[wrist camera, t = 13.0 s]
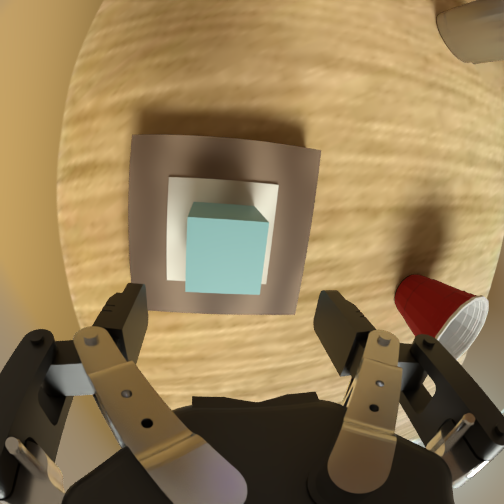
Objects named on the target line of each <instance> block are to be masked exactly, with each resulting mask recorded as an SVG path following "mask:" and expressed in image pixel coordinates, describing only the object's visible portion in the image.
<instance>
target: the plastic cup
mask: <svg viewBox="0 0 504 504" xmlns="http://www.w3.org/2000/svg"><path fill="white" fill-rule="evenodd" d="M395 304H396V307H397V309H398V310H399V312H400V313H401V315H402V316H403V318H404V319H405V321H406V323H407V325H408V326H409V328H410V329H411V331H412V332H413V334H414V335H415V337H416V336H417V335H419V334H426V335H429V336H432V337H434V338H435V339H437V340H438V341H439V342H440V343H441V344H442V345H443V346H444V347H445V348H446V349H447V351H448V352H449V353H450V354H451V355H452V356H453V357H454V358H455V359H456V360H457V359H458V358H459V357H460V356H461V355H462V354H463V353H464V352H465V351H466V350H467V349H468V348H469V347H470V345H471V344H472V343H473V341H474V340H475V339H476V337H477V336H478V334H479V332H480V330H481V329H482V327H483V325H484V323H485V320H486V317H487V313H488V300H487V299H486V298H485V297H484V296H482V295H480V296H476V295H473V294H471V293H470V294H469V293H467V292H465V291H461V290H459V289H456V288H454V287H451V286H449V285H447V284H444V283H442V282H439V281H437V280H434V279H430V278H427V277H425V276H422V275H418V274H417V275H411V276H409V277H407V278H406V279H405V280H404V281H403V282H401V284H400V285H399V287H398V289H397V291H396V294H395Z"/></svg>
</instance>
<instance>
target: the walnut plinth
mask: <svg viewBox="0 0 504 504" xmlns="http://www.w3.org/2000/svg"><path fill="white" fill-rule="evenodd" d="M320 156H321V150H316V149H310V148H305V147H299V146H292V145H286V144H279V143H271V142H263V141H255V140H246V139H236V138H224V137H210V136H192V135H132V143H131V156H130V172H129V206H128V222H129V256H130V273H131V283H139V284H145V286H146V296H147V308H148V310H150V311H164V312H181V313H202V314H234V315H295V312H296V307H297V302H298V297H299V292H300V286H301V281H302V276H303V270H304V265H305V259H306V253H307V247H308V241H309V235H310V229H311V222H312V216H313V209H314V202H315V195H316V188H317V181H318V173H319V165H320ZM193 202H205V203H221V204H235V205H247V206H255V207H256V208H257V210H258V211H259V212H260V213H261V214H262V215H263V216H264V217H265V218H266V219H267V221H268V222H269V228H268V236H267V244H266V252H265V259H264V267H263V275H262V282H261V289H260V295H250V294H221V293H199V292H185V280H186V241H187V218H188V215H189V212H190V210H191V207H192V205H193Z"/></svg>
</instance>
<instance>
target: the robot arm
mask: <svg viewBox="0 0 504 504" xmlns="http://www.w3.org/2000/svg"><path fill="white" fill-rule="evenodd" d="M437 25H438V29H439V31H440V34H441V36H442V38H443V40H444V41H445V43H446V45H447V46H448V48H449V49H450V50H451V51H452V53H453V54H454V55H455V56H456V57H457V58H458V59H460V60H461V61H463V62H466V63H469V62H472V63H473V64H479V63H485V62H493V61H502V60H504V0H476V1H473V2H470V3H467V4H464V5H461V6H458V7H455V8H453V9H450V10H447V11H445V12H442V13H440V14H439V15H438V16H437ZM147 326H148V308H147V296H146V286H145V284H139V283H128V284H127V286H126V288H125V289H124V291H123V293H116V294H114V295H113V296H111V297H110V298H109V299H108V301H107V302H106V304H105V306H104V307H103V309H102V311H101V312H100V314H99V315H98V317H97V319H96V320H95V322H94V324H93V325H92V326H91V327H86V328H83V329H81V330H79V331H78V332H77V333H76V334H75V335H74V338H73V340H69V341H55V340H54V336H53V334H52V333H51V332H50V331H48V330H45V329H38V330H34V331H31V332H29V333H28V334H26V335H25V337H24V338H23V339H22V341H21V342H20V343H19V345H18V346H17V348H16V349H15V351H14V352H13V354H12V356H11V357H10V359H9V360H8V362H7V363H6V365H5V366H4V368H3V370H2V372H1V373H0V504H454V499H453V491H452V488H458V487H461V486H462V485H464V484H465V483H466V482H467V481H469V480H470V479H471V478H472V477H473V476H475V475H476V474H477V473H478V472H479V471H480V470H482V469H483V468H484V467H485V466H486V465H487V464H488V463H490V462H491V461H492V460H493V459H494V458H495V457H496V456H497V455H498V454H499V453H500V452H501V451H502V450H503V449H504V416H503V415H502V414H501V412H500V411H499V410H498V409H497V407H496V406H495V405H494V404H493V402H492V401H491V400H490V399H489V397H488V396H487V395H486V394H485V393H484V391H483V390H482V389H481V388H480V387H479V385H478V384H477V383H476V382H475V381H474V380H473V378H472V377H471V376H470V375H469V374H468V373H467V372H466V371H465V369H464V368H463V367H462V366H461V365H460V364H459V363H458V361H457V360H456V359H455V358H454V357H453V356H452V355H451V354H450V353H449V352H448V351H447V349H446V348H445V347H444V346H443V345H442V344H441V343H440V342H439V341H438V340H437V339H435V338H434V337H432V336H429V335H426V334H419V335H417V336H416V337H415V339H414V341H413V343H412V344H404V343H400V342H399V339H398V338H397V337H396V336H395V335H394V334H392V333H390V332H388V331H384V330H376V329H375V327H374V326H373V325H372V324H371V323H370V322H369V321H368V319H367V318H366V317H364V315H363V314H362V313H361V312H360V310H359V309H358V308H357V307H356V306H355V305H354V304H352V303H351V302H349V301H347V300H345V298H344V297H343V296H342V295H341V294H340V293H339V292H338V291H337V290H323V291H321V293H320V295H319V299H318V304H317V308H316V312H315V316H314V330H315V332H316V334H317V336H318V338H319V339H320V341H321V343H322V345H323V347H324V348H325V350H326V352H327V354H328V356H329V357H330V359H331V361H332V363H333V364H334V366H335V368H336V370H337V372H338V374H339V375H340V377H341V376H348V375H351V376H352V378H351V380H350V382H349V385H348V388H347V390H346V393H345V396H344V398H343V401H342V403H341V405H340V404H337V403H334V402H330V401H325V400H319V399H318V396H317V394H316V392H307V393H298V394H287V395H284V396H280V397H277V398H273V399H270V400H266V401H262V402H250V401H243V400H237V399H232V398H226V397H197V396H192V405H190V406H185V407H181V408H178V409H175V410H171V409H170V408H169V407H168V406H167V404H166V403H165V402H164V401H163V400H162V398H161V397H160V396H159V395H158V393H157V392H156V391H155V390H154V388H153V387H152V386H151V385H150V383H149V382H148V381H147V379H146V378H145V377H144V375H143V374H142V373H141V371H140V370H139V369H138V367H137V366H136V363H137V359H138V356H139V353H140V349H141V346H142V343H143V340H144V336H145V333H146V330H147ZM427 375H429V376H430V377H431V379H432V380H433V381H434V383H435V385H436V392H435V394H434V396H433V397H431V395H430V394H429V392H428V391H427V390H426V388H425V387H424V385H423V382H424V380H425V378H426V377H427ZM91 394H92V395H93V397H94V399H95V401H96V403H97V405H98V407H99V409H100V410H101V413H102V414H103V416H104V418H105V420H106V422H107V424H108V425H109V427H110V429H111V431H112V432H113V434H114V436H115V438H116V440H117V441H118V443H119V445H120V446H121V448H122V449H120V450H119V451H118V452H116V453H115V454H114V455H113V456H111V457H110V458H109V459H107V460H106V461H105V462H103V463H102V464H101V465H99V466H98V467H97V468H95V469H94V470H93V471H91V472H90V473H88V474H87V475H85V476H84V477H83V478H81V479H80V480H78V481H77V482H75V483H74V484H73V485H72V486H71V487H70V488H69V489H68V490H67V492H66V493H65V490H64V487H63V476H62V472H61V470H60V469H59V468H58V466H57V465H56V464H55V459H56V455H57V451H58V447H59V443H60V439H61V435H62V432H63V429H64V425H65V422H66V418H67V415H68V412H69V409H70V406H71V403H72V400H73V397H74V395H75V396H76V395H91ZM399 402H400V404H401V406H402V407H403V409H404V411H405V412H406V414H407V416H408V418H409V419H410V421H411V423H412V424H413V426H414V428H415V430H416V431H417V433H418V435H419V437H420V438H421V440H422V442H423V443H424V445H425V447H426V448H424V447H421V446H419V445H417V444H415V443H413V442H411V441H409V440H407V439H405V438H403V437H401V436H399V435H397V434H395V433H394V431H395V425H396V419H397V413H398V406H399Z"/></svg>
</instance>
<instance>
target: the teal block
mask: <svg viewBox="0 0 504 504" xmlns="http://www.w3.org/2000/svg"><path fill="white" fill-rule="evenodd" d="M268 228H269V222H268V221H267V219H266V218H265V217H264V216H263V215H262V214H261V213H260V212H259V211H258V210H257V208H256V207H255V206H247V205H235V204H221V203H205V202H193V205H192V207H191V210H190V212H189V215H188V218H187V241H186V280H185V292H199V293H221V294H250V295H260V289H261V282H262V275H263V267H264V259H265V252H266V244H267V236H268Z"/></svg>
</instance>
